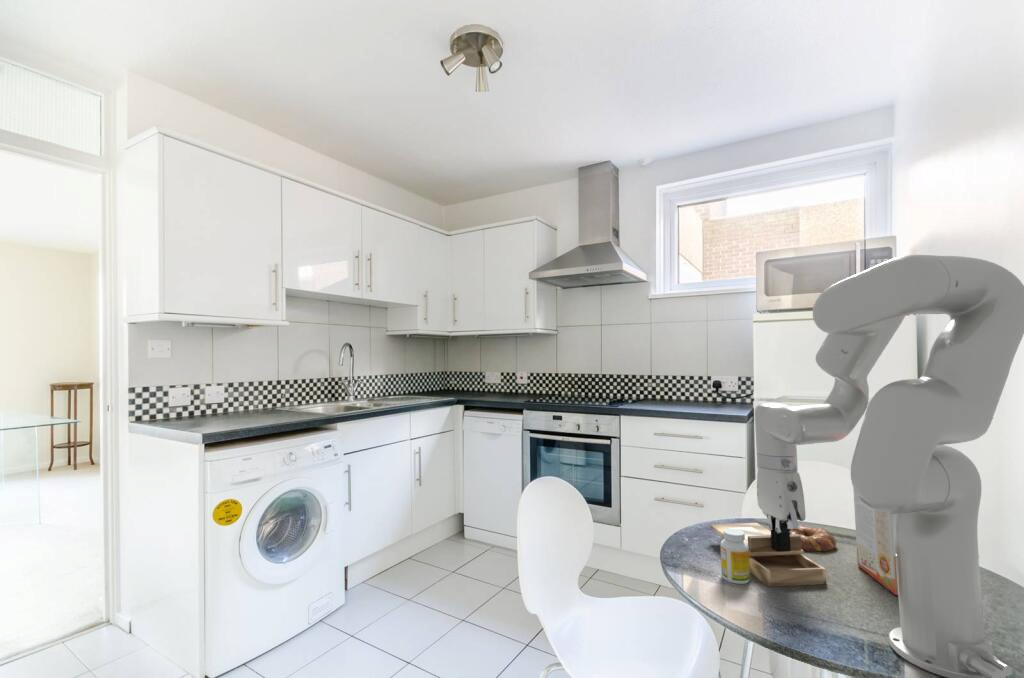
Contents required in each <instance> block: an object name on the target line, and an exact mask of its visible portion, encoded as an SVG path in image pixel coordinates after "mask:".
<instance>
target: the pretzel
mask: <svg viewBox="0 0 1024 678" xmlns="http://www.w3.org/2000/svg"><path fill="white" fill-rule="evenodd" d="M798 526H799V529H792V531H791V533H790V534H797V535H799V536H800V538H801V548H802V550H803V549H804V550H803V551H806V550H808V551H807V552H822V551H823V552H829V551H831V550H834V549H835V548H836V546H837V541H836V538H835V537H834V536H833V535H832V534H830V533H829V532H828V531H827V530H825V529H823V528H821V527H820V528H819V527H813V528H811V527H809V526H806V525H801V524H800V525H799V524H798Z"/></svg>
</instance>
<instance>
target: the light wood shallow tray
mask: <svg viewBox="0 0 1024 678" xmlns="http://www.w3.org/2000/svg"><path fill="white" fill-rule="evenodd" d="M749 566H750V574H752V575H753V576H754V577H755V578H757V579H758V580H759V581H760V582H762V583H763V584H764V585H766V586H767V587H770V588H771V587H787V586H789V587H791V586H812V585H815V586H816V585H827V572H826V571H827V570H826V568H825V567H824V566H822V565H820V564H819V563H817V562H815V561H813V560H812V559H810V558H809V557H807V556H806V555H804V554H795V555H771V556H749Z"/></svg>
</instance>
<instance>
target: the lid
mask: <svg viewBox="0 0 1024 678" xmlns="http://www.w3.org/2000/svg"><path fill="white" fill-rule="evenodd" d="M709 525H710V529H711V530H713V531H714V532H715V533H717V535H720V536H721V537H722V538H723V539H725V538H724V530H725V529H738V530H741V531H743V532H744V534H745V539H744V542H746V543H747V545H748V547H749V556H771V555H795V554H802V555H804V554H805V553H804V551H805V550H803V549H801V538H800V536H799V535H797V534H790V546H791V550H790V551H787V552H777V551H775V550H774V549H772V548H771V529H770V530H769V528H766V527H764V526H763V525H761V524H759V523H758V522H748V523H747V522H746V523H745V522H743V523H740V522H739V523H720V524H718V523H717V524H709Z"/></svg>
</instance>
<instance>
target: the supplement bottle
mask: <svg viewBox="0 0 1024 678" xmlns="http://www.w3.org/2000/svg"><path fill="white" fill-rule="evenodd" d="M744 539H745V534H744V532H743V531H741V530H738V529H725V530H724V538H723V539H722V540H721V541H720V545H719V546H720V547H719V548H720V565H721V566H720V567H721V569H720V571H721V577H722V578H723V580H725V581H726V582H729V583H732V584H737V585H738V584H739V585H743V584H744V585H745V584H748V583H749V582H750V581H751V573H750V566H749V547H748V545H747V543H746V542H744Z"/></svg>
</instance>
